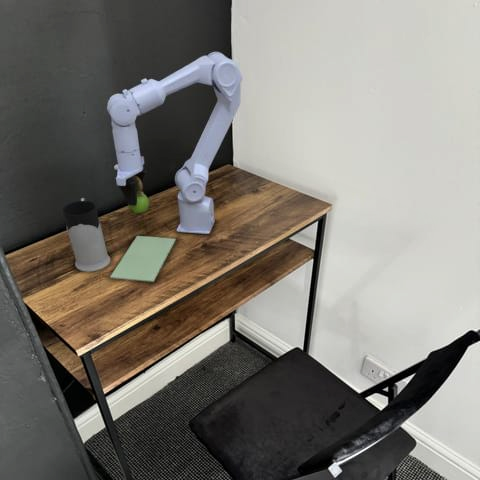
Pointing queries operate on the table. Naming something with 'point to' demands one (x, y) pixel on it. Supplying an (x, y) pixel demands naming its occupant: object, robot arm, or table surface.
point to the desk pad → (143, 259)
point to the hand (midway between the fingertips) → (135, 200)
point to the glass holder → (86, 235)
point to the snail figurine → (139, 199)
